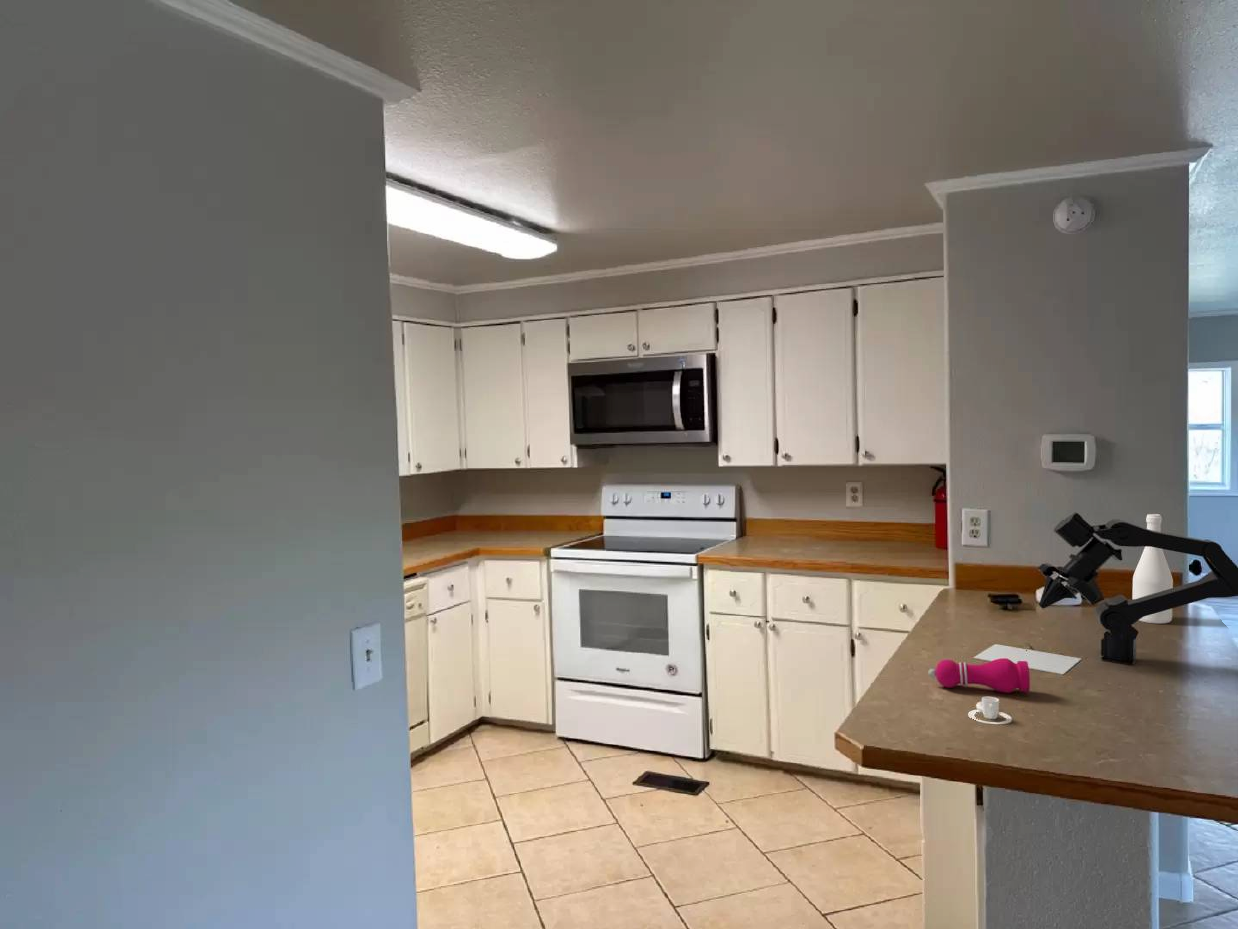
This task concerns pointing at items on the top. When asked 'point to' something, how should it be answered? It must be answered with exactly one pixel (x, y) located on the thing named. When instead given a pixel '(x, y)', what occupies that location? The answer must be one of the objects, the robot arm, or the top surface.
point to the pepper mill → (984, 674)
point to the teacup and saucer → (989, 710)
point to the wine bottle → (1153, 574)
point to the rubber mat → (1030, 658)
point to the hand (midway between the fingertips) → (1040, 607)
